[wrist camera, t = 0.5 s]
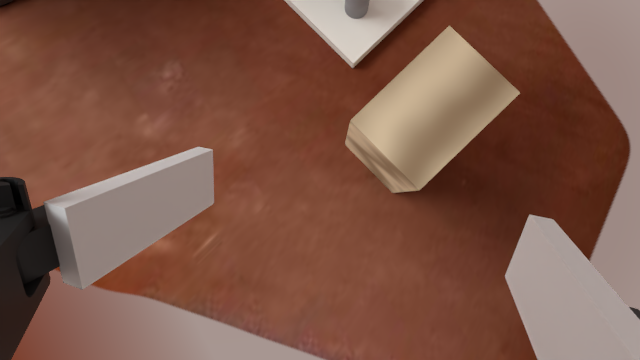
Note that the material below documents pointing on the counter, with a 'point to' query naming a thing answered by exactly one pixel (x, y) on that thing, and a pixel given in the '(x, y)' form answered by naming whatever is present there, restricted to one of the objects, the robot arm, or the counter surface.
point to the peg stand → (353, 22)
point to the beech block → (428, 113)
